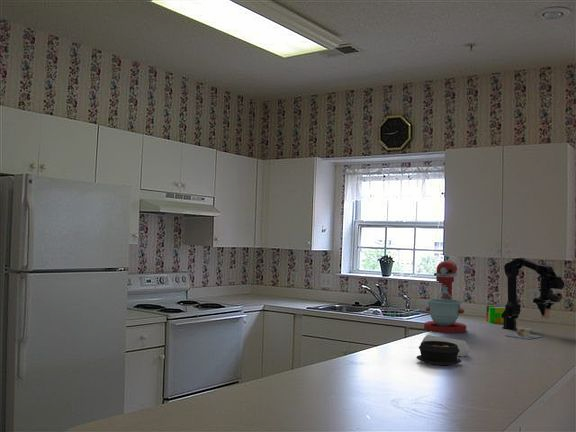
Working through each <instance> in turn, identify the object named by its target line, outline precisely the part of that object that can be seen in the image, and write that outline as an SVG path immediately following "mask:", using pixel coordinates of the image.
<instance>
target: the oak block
mask: <svg viewBox="0 0 576 432" xmlns="http://www.w3.org/2000/svg"><path fill="white" fill-rule="evenodd" d="M516 328H517V329H516V330H517V331H516V333H517V336H524V337H527V336H530V335H531V328H527V327H516Z"/></svg>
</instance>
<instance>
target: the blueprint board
mask: <svg viewBox="0 0 576 432" xmlns="http://www.w3.org/2000/svg"><path fill="white" fill-rule="evenodd" d="M504 336H505V337H508V336H509V337H510V338H515V339H517V338H518V339H524V340H534V339H535V340H536V339H538V338H539V339H540V338H543V335H536V334H530V336H527V337H524V336H517V332H515V333H510V334H504ZM509 337H508V338H509Z"/></svg>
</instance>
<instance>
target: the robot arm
mask: <svg viewBox="0 0 576 432" xmlns="http://www.w3.org/2000/svg"><path fill="white" fill-rule="evenodd" d="M503 267H504V274H505V275H506V277H507V302H506V304H505V306H504V307H505V311H504V312H503V313H502V314H501V317H502V318H504V324H503V326H502V329H505V330H506V329H507V330H517V328H518V327H517V320H518V319H519V316H520V313H521V312H522V310H521V307H522V306H521V304H518V303H519V302H517V301H518V299H517V294H518V293H517V277H518V275H519V274H520V269H522V268H523V267H526V268H528V269H531V270H533V271H534V272H536V273H537V275H539V276H538V277H537V278H536V280H540V283H539V284H540V285H539V286H540V287H539V288H540V289H538V292H539V296H538V297H534V298H533V299H532V303H533V304H535V305H537V308H538V309H539V312H540V315H541V314H542V316H544V315H545V308H546V309H550V310H551V308H552V306H553V305H555V303H558V302H559V303H561V300H563V296H562V295H563V294H562V293H561V292H558V293H554V290H563V289H564V287H565V282H564V280H563V277H561V276H557V274H556V273H555V271H554V268H553V266H551V265H547V264H540V263H537V262H535V261H532V260H529V259H527V258H526V257H518V258H516V259H514V260H511V261H510V262H507V263H505V264H504V266H503ZM553 289H554V290H553Z"/></svg>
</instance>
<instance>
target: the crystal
mask: <svg viewBox="0 0 576 432" xmlns="http://www.w3.org/2000/svg"><path fill="white" fill-rule="evenodd" d="M424 341H444V342H450V343H454V344H456V345H457V346H458V349H459V350H460V351H459V352H458V356H457V357H459V356H465V357H468V356H469V352H470V348H469V346H468V344H467V342H466V340H461V339H454V338H449V337H443V336H437V335H430V334H426V335H425V336H424V337H423V339H422V341H421V342H424ZM467 355H468V356H467Z"/></svg>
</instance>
